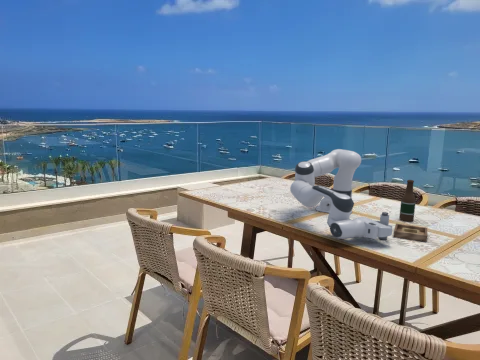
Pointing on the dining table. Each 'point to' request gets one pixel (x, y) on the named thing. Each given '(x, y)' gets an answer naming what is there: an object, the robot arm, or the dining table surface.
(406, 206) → the beer bottle
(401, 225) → the walnut box
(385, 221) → the grey capped bottle
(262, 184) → the dining table surface
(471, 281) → the dining table surface
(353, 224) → the robot arm
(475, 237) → the dining table surface
